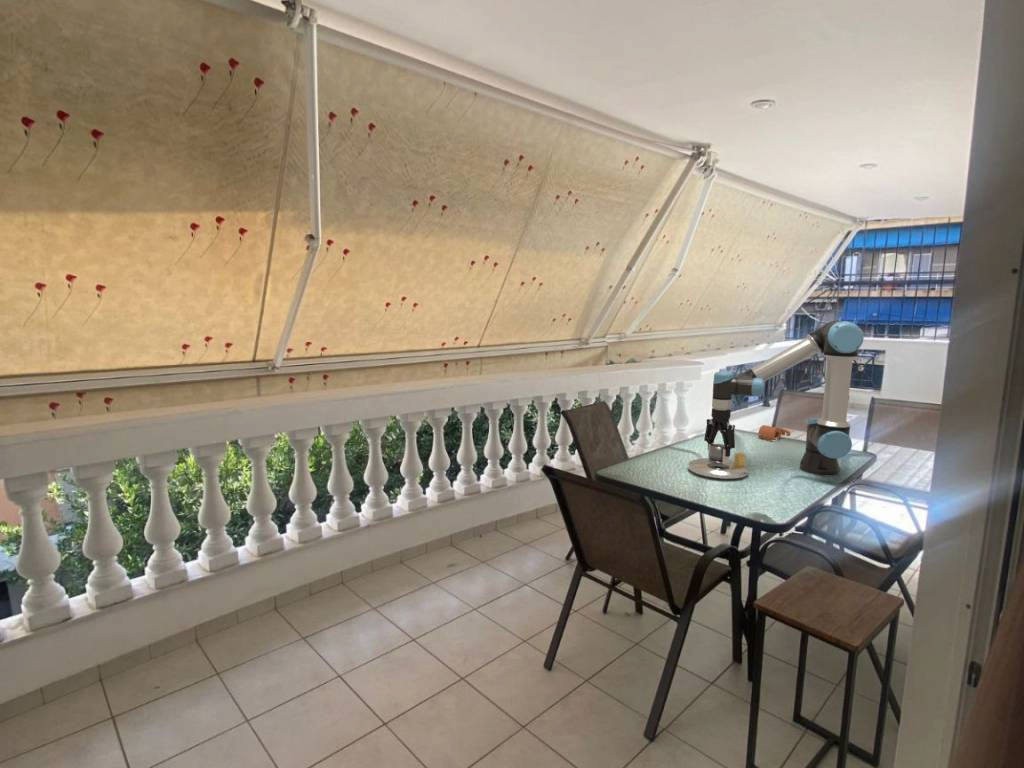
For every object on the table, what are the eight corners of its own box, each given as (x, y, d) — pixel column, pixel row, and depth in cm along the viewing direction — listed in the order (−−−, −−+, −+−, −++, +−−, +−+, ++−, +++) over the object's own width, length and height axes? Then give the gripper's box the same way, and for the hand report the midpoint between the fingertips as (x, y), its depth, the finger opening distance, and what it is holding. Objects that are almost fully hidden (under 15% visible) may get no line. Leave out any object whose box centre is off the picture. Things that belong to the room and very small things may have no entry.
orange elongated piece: (772, 444, 284) (773, 429, 283) (757, 440, 290) (758, 426, 289) (792, 438, 295) (793, 423, 294) (778, 435, 302) (779, 421, 300)
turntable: (706, 480, 222) (707, 464, 221) (678, 463, 246) (679, 449, 245) (760, 476, 226) (761, 461, 225) (728, 460, 250) (729, 446, 249)
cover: (731, 462, 233) (732, 446, 232) (717, 465, 230) (718, 448, 229) (718, 458, 240) (718, 442, 239) (704, 460, 237) (705, 444, 236)
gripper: (747, 412, 224) (743, 466, 228) (710, 403, 242) (707, 453, 246) (733, 413, 221) (729, 468, 225) (697, 404, 239) (694, 455, 243)
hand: (718, 460), depth 235 cm, fingers closed on cover, 7 cm apart
